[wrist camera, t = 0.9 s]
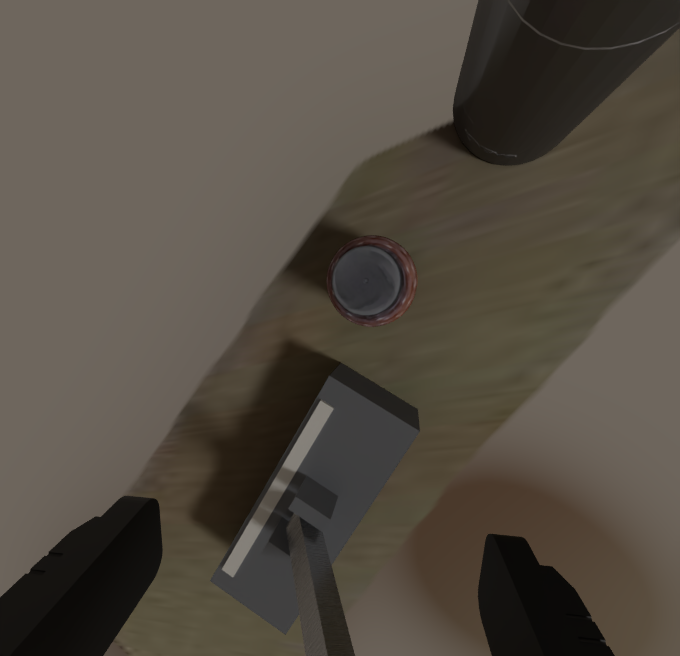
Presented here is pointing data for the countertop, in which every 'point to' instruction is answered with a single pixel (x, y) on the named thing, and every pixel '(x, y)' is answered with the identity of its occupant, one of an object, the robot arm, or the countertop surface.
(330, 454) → the block
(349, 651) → the lever
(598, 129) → the countertop surface
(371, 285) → the supplement bottle
